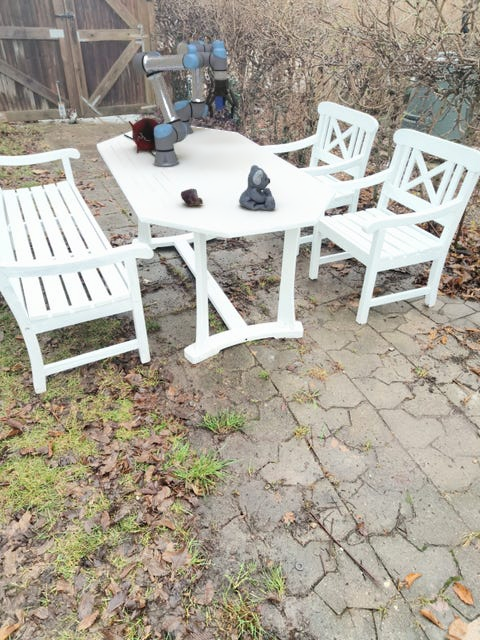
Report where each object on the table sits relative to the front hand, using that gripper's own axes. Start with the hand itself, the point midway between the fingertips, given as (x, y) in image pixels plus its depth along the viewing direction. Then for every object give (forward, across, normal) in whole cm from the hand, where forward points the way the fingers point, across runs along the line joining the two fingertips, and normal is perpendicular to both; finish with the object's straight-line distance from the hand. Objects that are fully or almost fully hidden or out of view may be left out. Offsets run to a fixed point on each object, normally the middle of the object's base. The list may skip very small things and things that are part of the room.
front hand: (221, 118), depth 276 cm
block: (+3, +19, -47) cm, 51 cm away
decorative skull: (+28, +65, -23) cm, 75 cm away
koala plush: (+28, -43, +65) cm, 83 cm away
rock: (+28, -10, +74) cm, 80 cm away
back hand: (+1, +19, -47) cm, 51 cm away
